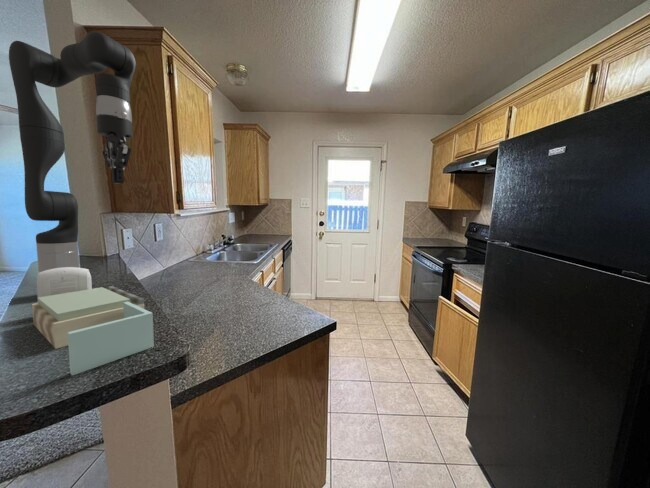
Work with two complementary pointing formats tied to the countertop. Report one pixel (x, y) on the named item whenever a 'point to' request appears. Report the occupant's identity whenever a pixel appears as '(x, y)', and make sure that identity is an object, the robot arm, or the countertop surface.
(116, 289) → the block
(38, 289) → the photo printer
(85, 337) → the l-shaped corner panel
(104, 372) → the countertop surface
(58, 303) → the sage green flat slab
